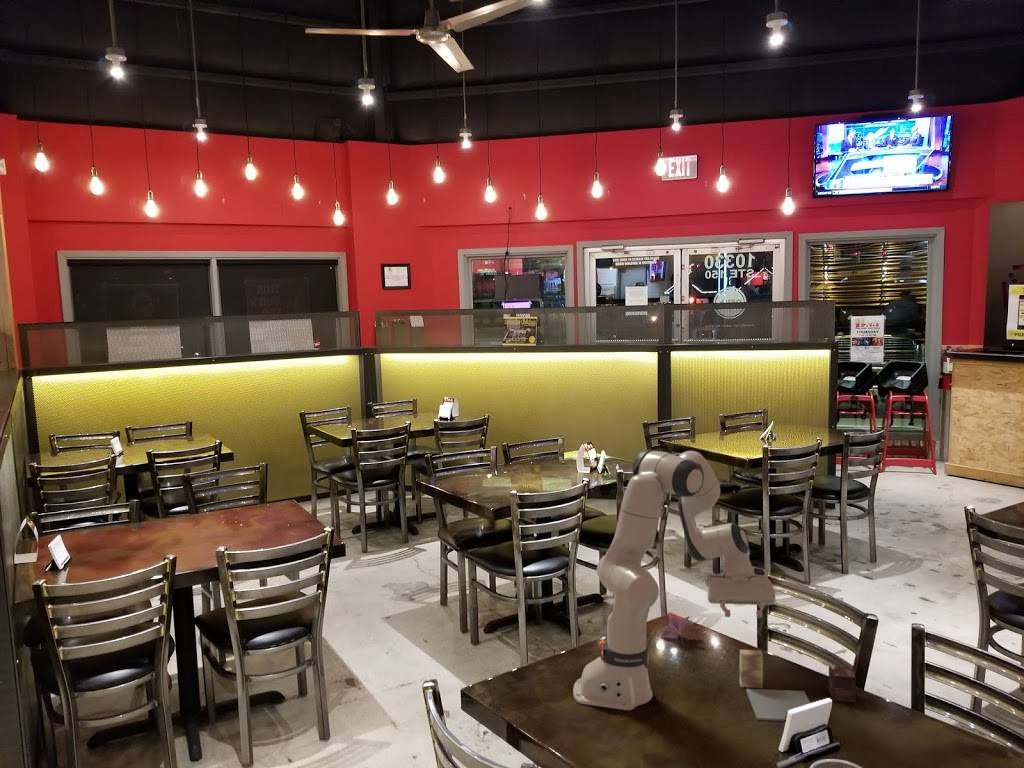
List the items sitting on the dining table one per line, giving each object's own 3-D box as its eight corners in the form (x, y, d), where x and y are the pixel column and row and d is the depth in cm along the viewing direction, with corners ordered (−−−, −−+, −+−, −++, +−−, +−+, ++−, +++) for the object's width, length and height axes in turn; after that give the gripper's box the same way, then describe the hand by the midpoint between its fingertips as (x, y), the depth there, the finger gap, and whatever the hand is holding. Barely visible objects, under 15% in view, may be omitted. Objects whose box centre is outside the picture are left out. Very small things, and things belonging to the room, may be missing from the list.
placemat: (757, 719, 200) (757, 717, 200) (746, 690, 216) (746, 688, 215) (819, 722, 198) (819, 720, 198) (803, 693, 214) (804, 691, 213)
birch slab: (741, 687, 218) (741, 654, 217) (739, 682, 221) (739, 649, 220) (762, 688, 217) (762, 654, 216) (760, 683, 220) (760, 650, 219)
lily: (700, 640, 252) (690, 612, 256) (700, 640, 242) (690, 610, 245) (665, 650, 254) (656, 621, 257) (664, 650, 243) (654, 621, 247)
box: (855, 702, 208) (856, 677, 207) (832, 701, 209) (833, 675, 208) (850, 692, 214) (851, 667, 213) (828, 690, 215) (828, 665, 214)
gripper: (705, 569, 237) (709, 611, 228) (772, 571, 234) (779, 613, 226) (703, 578, 242) (707, 619, 233) (769, 580, 239) (776, 622, 230)
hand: (743, 616), depth 229 cm, fingers open, 8 cm apart
